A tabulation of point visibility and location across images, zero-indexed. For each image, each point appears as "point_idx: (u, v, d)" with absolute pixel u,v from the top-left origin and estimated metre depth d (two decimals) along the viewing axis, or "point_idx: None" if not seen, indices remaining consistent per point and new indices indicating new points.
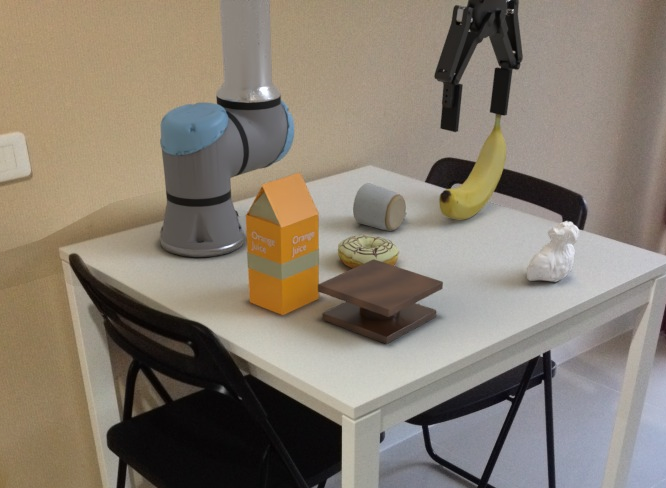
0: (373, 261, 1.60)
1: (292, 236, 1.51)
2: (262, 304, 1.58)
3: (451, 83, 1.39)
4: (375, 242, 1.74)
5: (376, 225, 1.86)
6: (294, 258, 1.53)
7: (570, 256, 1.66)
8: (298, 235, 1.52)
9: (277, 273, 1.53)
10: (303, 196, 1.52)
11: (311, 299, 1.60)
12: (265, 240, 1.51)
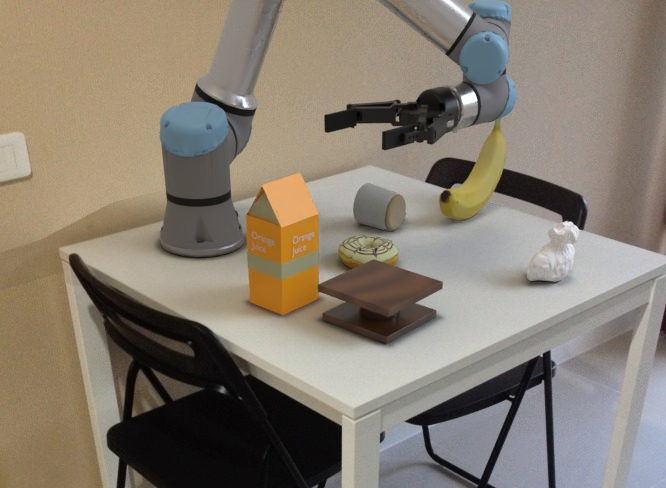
0: (373, 261, 1.60)
1: (292, 236, 1.51)
2: (262, 304, 1.58)
3: (421, 139, 1.55)
4: (375, 242, 1.74)
5: (376, 225, 1.86)
6: (294, 258, 1.53)
7: (570, 256, 1.66)
8: (298, 235, 1.52)
9: (277, 273, 1.53)
10: (303, 196, 1.52)
11: (311, 299, 1.60)
12: (265, 240, 1.51)
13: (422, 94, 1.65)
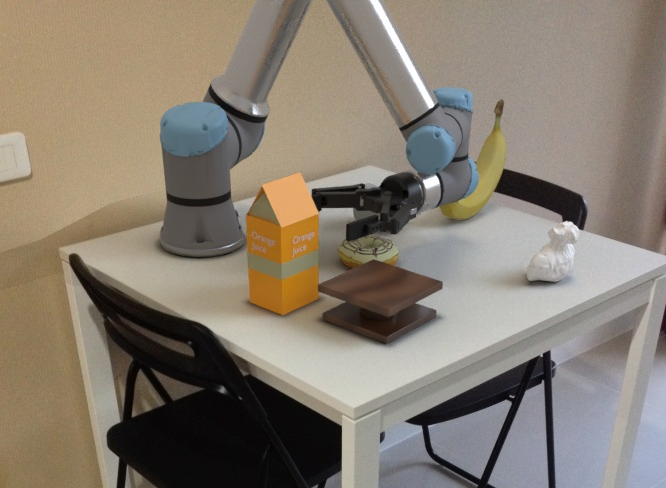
0: (373, 261, 1.60)
1: (292, 236, 1.51)
2: (262, 304, 1.58)
3: (384, 229, 1.58)
4: (375, 242, 1.74)
5: None
6: (294, 258, 1.53)
7: (570, 256, 1.66)
8: (298, 235, 1.52)
9: (277, 273, 1.53)
10: (303, 196, 1.52)
11: (311, 299, 1.60)
12: (265, 240, 1.51)
13: (386, 180, 1.68)
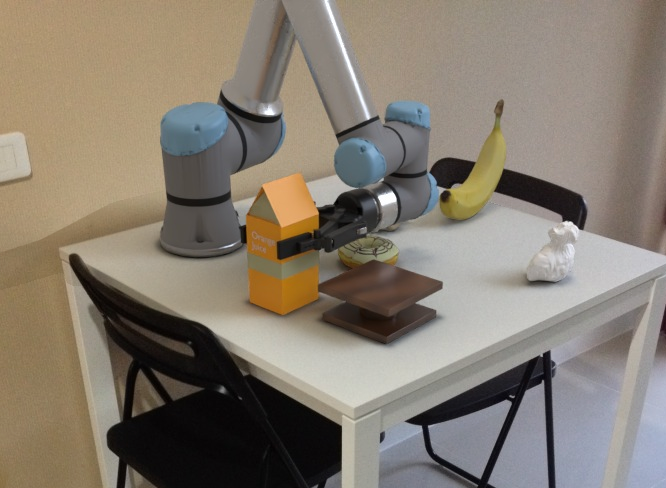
0: (373, 261, 1.60)
1: (292, 236, 1.51)
2: (262, 304, 1.58)
3: (317, 247, 1.53)
4: (375, 242, 1.74)
5: None
6: (294, 258, 1.53)
7: (570, 256, 1.66)
8: None
9: (277, 273, 1.53)
10: (303, 196, 1.52)
11: (311, 299, 1.60)
12: (265, 240, 1.51)
13: (340, 196, 1.62)
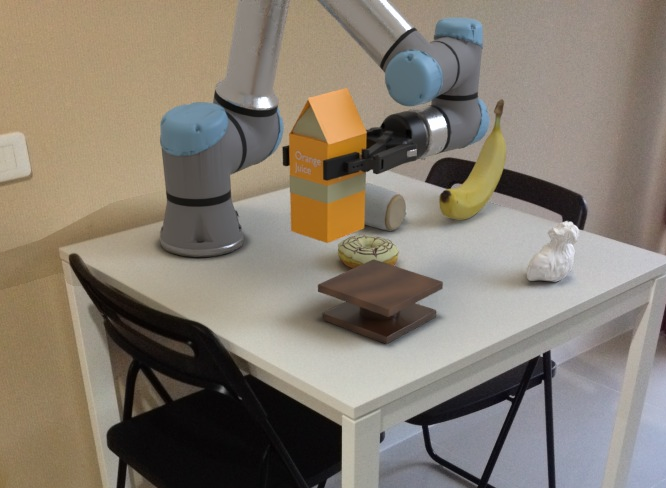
0: (373, 261, 1.60)
1: (339, 155, 1.41)
2: (305, 232, 1.48)
3: (365, 168, 1.43)
4: (375, 242, 1.74)
5: (376, 225, 1.86)
6: (340, 180, 1.43)
7: (570, 256, 1.66)
8: None
9: (322, 196, 1.43)
10: (350, 113, 1.42)
11: (356, 227, 1.50)
12: (310, 160, 1.41)
13: (387, 119, 1.52)
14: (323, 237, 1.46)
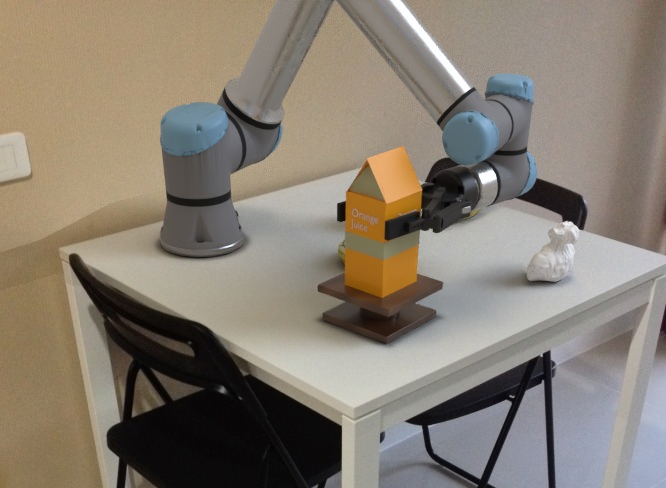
0: None
1: (396, 213, 1.42)
2: (359, 286, 1.50)
3: (425, 227, 1.44)
4: None
5: None
6: None
7: (570, 256, 1.66)
8: (401, 213, 1.43)
9: (379, 252, 1.44)
10: (407, 171, 1.43)
11: (409, 281, 1.52)
12: (367, 218, 1.43)
13: (439, 174, 1.54)
14: (378, 292, 1.48)
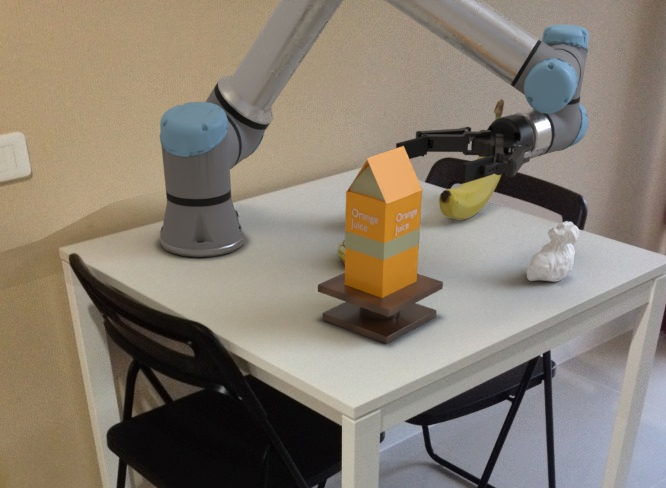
0: None
1: (396, 213, 1.42)
2: (359, 286, 1.50)
3: (500, 172, 1.48)
4: None
5: None
6: (396, 237, 1.45)
7: (570, 256, 1.66)
8: (401, 213, 1.43)
9: (379, 252, 1.44)
10: (407, 171, 1.43)
11: (409, 281, 1.52)
12: (367, 218, 1.43)
13: (495, 122, 1.57)
14: (378, 292, 1.48)
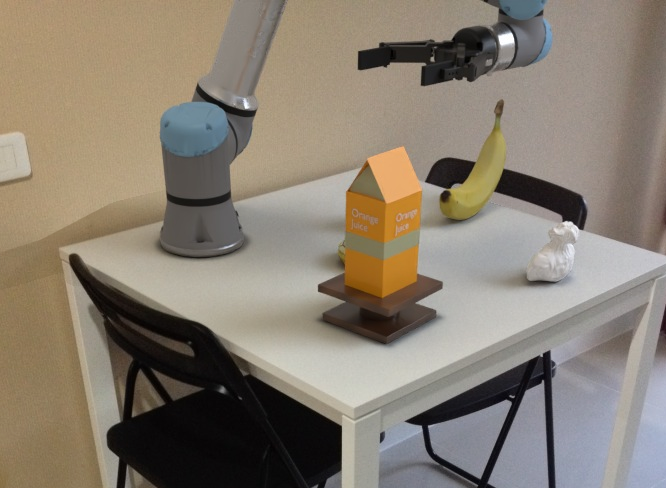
0: None
1: (396, 213, 1.42)
2: (359, 286, 1.50)
3: (460, 76, 1.48)
4: None
5: None
6: (396, 237, 1.45)
7: (570, 256, 1.66)
8: (401, 213, 1.43)
9: (379, 252, 1.44)
10: (407, 171, 1.43)
11: (409, 281, 1.52)
12: (367, 218, 1.43)
13: (458, 33, 1.58)
14: (378, 292, 1.48)
